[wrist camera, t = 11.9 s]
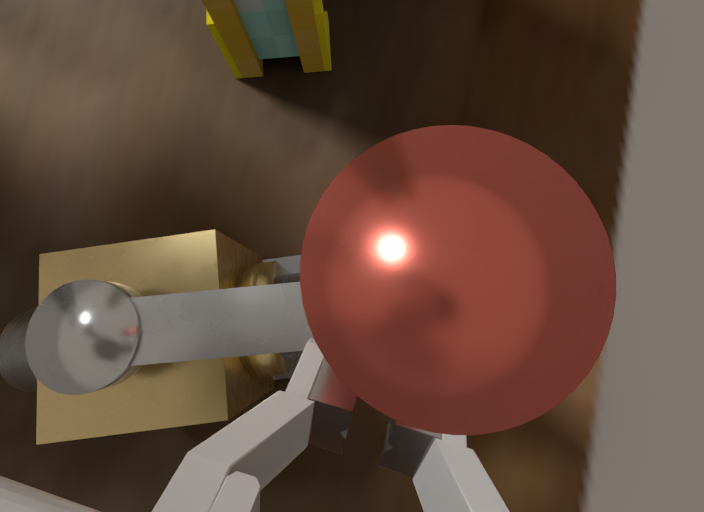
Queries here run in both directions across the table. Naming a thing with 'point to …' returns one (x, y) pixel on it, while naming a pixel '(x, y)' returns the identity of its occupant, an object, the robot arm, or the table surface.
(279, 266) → the valve body
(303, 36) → the book
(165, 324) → the lever
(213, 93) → the table surface
